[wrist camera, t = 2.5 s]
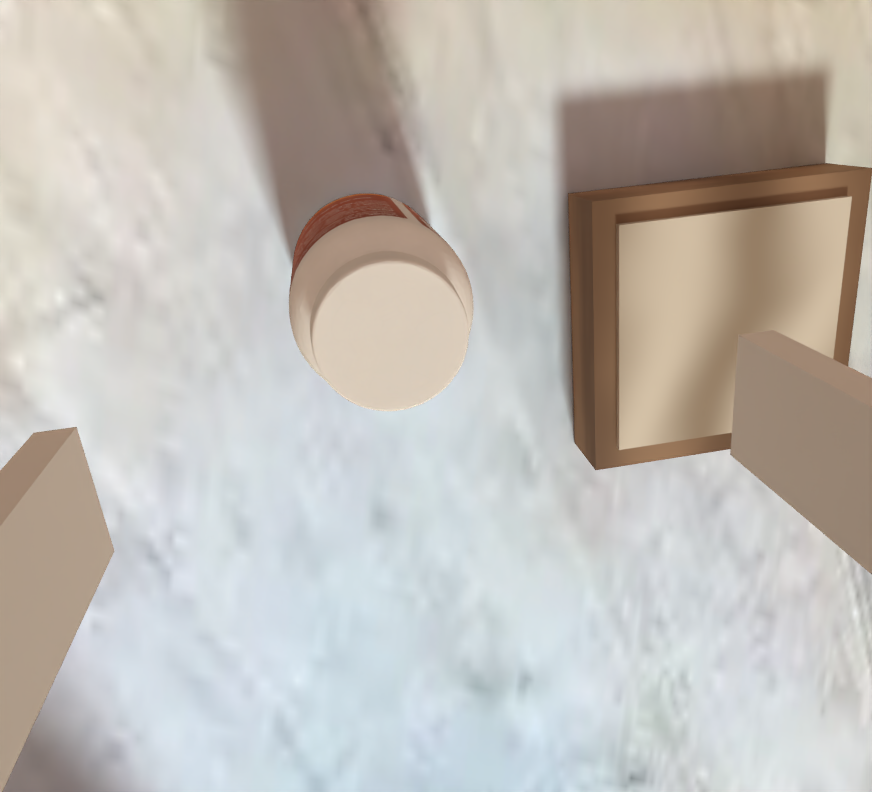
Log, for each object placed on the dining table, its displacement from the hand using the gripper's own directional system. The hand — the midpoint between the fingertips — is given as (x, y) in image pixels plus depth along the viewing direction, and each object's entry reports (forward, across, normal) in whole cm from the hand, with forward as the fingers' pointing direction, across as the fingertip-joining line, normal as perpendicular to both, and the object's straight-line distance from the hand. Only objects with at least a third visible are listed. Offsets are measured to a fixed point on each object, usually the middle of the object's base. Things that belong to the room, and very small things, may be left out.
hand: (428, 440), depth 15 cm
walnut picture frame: (+18, +15, -4) cm, 24 cm away
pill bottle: (+19, 0, 0) cm, 19 cm away
